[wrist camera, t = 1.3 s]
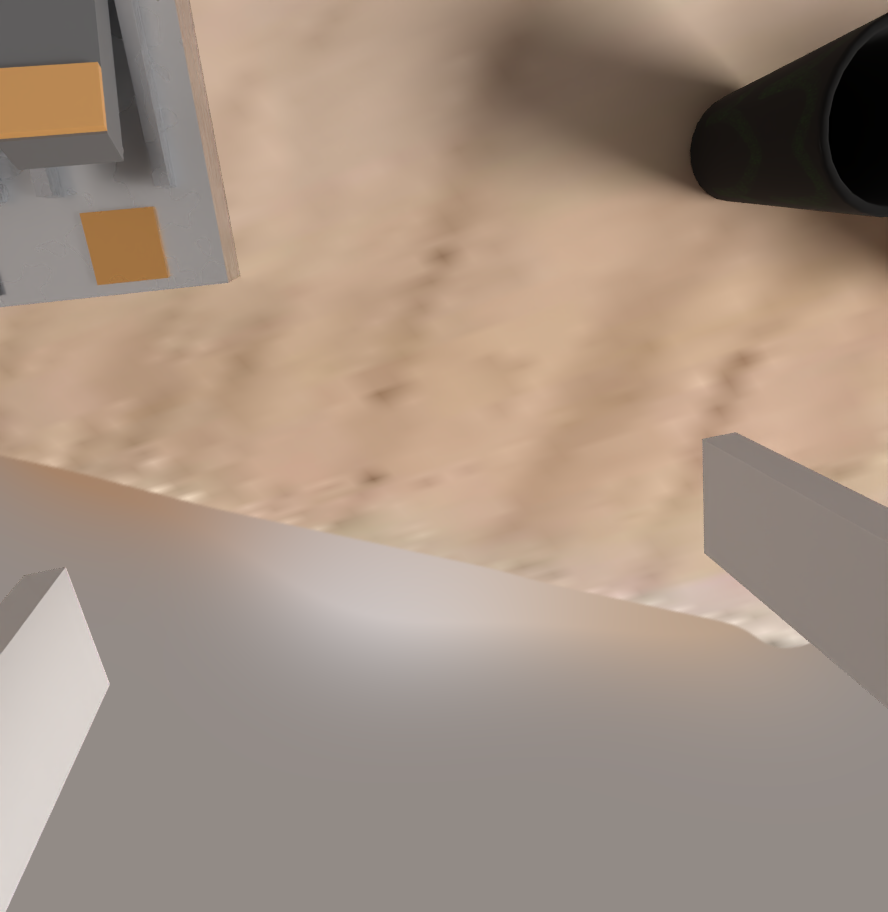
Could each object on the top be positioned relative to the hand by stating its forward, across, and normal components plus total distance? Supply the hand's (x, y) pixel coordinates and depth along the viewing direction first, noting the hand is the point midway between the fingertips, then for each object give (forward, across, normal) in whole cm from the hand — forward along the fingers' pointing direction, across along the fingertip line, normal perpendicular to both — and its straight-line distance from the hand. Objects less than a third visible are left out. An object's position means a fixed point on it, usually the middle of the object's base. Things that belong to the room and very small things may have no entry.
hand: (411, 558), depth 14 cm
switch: (+18, -9, +14) cm, 24 cm away
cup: (+26, +23, +7) cm, 36 cm away
